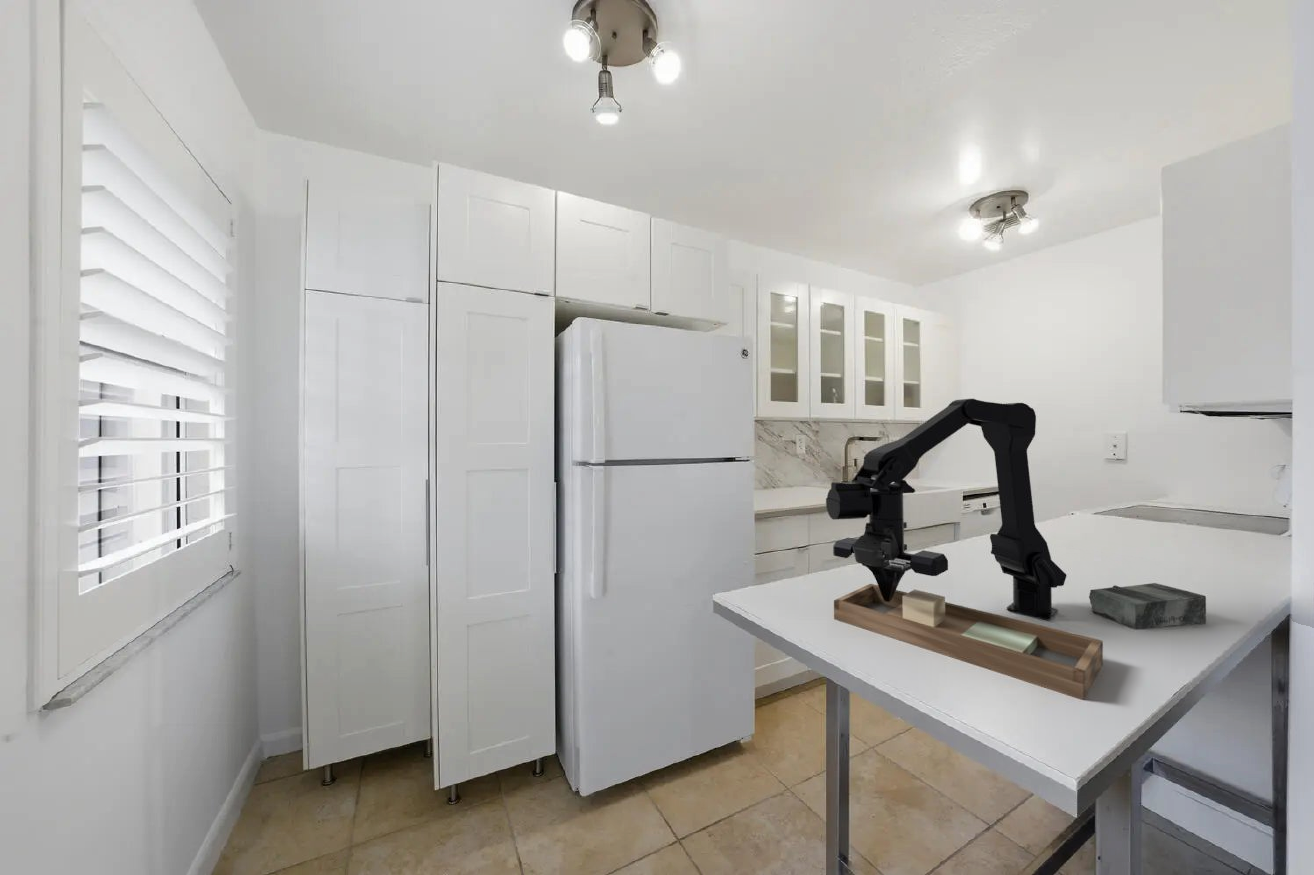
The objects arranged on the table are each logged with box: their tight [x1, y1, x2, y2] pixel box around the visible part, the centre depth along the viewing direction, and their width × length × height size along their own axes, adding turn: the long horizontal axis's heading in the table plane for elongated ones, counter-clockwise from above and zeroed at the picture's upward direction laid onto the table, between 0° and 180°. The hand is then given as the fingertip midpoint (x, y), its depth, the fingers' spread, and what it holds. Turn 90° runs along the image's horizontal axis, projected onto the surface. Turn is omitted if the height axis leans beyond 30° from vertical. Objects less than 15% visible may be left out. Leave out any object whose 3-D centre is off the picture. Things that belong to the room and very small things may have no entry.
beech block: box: [902, 589, 946, 627], centre depth 82 cm, size 5×5×4 cm
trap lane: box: [833, 583, 1104, 700], centre depth 79 cm, size 14×35×4 cm, turn 39°
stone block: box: [1088, 582, 1207, 630], centre depth 86 cm, size 9×14×5 cm, turn 96°
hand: (887, 601), depth 87 cm, fingers closed
